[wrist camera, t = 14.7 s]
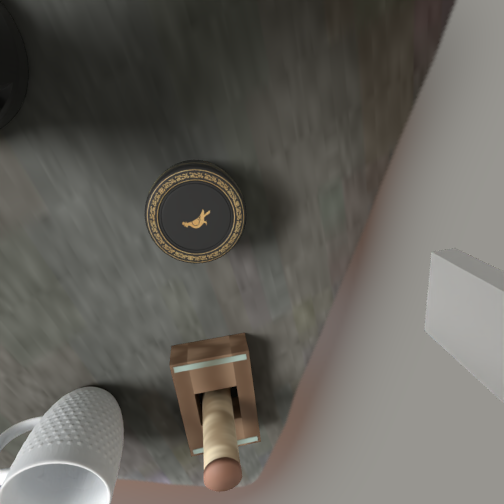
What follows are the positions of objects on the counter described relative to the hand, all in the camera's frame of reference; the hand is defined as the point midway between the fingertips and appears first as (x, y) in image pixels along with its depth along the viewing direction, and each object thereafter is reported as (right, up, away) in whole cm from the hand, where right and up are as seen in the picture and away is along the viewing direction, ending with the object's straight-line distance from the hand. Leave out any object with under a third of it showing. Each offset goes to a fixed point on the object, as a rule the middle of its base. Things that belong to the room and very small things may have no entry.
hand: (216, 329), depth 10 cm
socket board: (-4, -17, +40) cm, 44 cm away
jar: (-6, +8, +31) cm, 32 cm away
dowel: (-4, -17, +40) cm, 44 cm away
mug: (-22, -19, +38) cm, 48 cm away
